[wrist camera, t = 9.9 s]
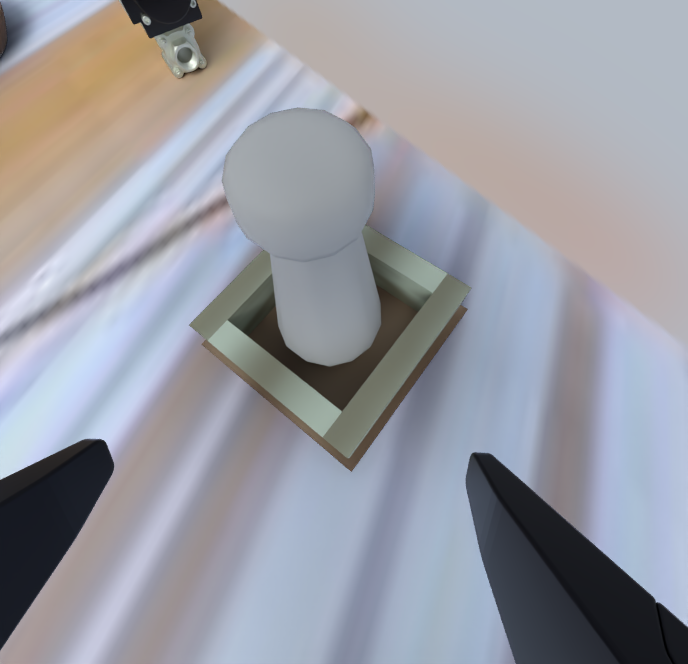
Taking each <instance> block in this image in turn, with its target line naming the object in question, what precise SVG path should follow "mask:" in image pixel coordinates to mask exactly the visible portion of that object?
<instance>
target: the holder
mask: <svg viewBox="0 0 688 664" xmlns="http://www.w3.org/2000/svg"><path fill="white" fill-rule="evenodd" d="M362 235H363V238H364V242H365V246H366V250H367V254H368V257H369V261H370V265H371V269H372V273H373V276H374V280H375V284H376V288H377V291H378V295H379V299H380V303H381V326H380V328H379V330H378V332H377V335H376V337H375V339H374V341H373V343H372V345H371V347H370V348H369V349H367V350H366V351H365V352H364V353H362V354H361V355H360V356H358V357H357V358H356V359H355V360H353V361H351V362H347V363H343V364H339V365H335V366H331V367H329V366H324V365H320V364H316V363H311V362H307V361H305V360H304V359H303V358H301V357H300V356H299V355H297V354H296V353H295V352H293V351H292V350H291V349H289V348H288V347H287V346H286V344H285V341H284V339H283V337H282V334H281V332H280V329H279V327H278V319H277V311H276V302H275V294H274V285H273V277H272V268H271V259H270V253H268V252H267V251H265V250H263V251H262V252H261V253H260V254H259V255H258V256H257V257H256V258H255V259H254V260H253V261H252V262H251V263H250V264H249V265H248V266H247V267H246V268H245V269H244V270H243V271H242V272H241V273H240V274H239V275H238V276H237V277H236V278H235V279H234V280H233V281H232V282H231V283H230V284H229V285H228V286H227V287H226V288H225V289H224V290H223V291H222V292H221V293H220V294H219V295H218V296H217V297H216V298H215V299H214V300H213V301H212V302H211V303H210V304H209V305H208V306H207V307H206V308H205V309H204V310H203V311H202V312H201V313H200V314H199V315H198V316H197V317H196V318H195V319H194V320H193V321H192V322H191V323H190V325H189V326H191V327H192V328H193V329H194V330H195V331H196V332H198V333H199V334H200V335H201V336H202V337H204V338H205V339H206V340H205V341H204V342H203V343H202V345H203V346H204V347H205V348H206V349H208V350H209V351H210V352H211V353H212V354H213V355H215V356H216V357H217V358H218V359H219V360H221V361H222V362H223V363H224V364H225V365H226V366H228V367H229V368H230V369H231V370H232V371H233V372H235V373H236V374H237V375H238V376H239V377H241V378H242V379H243V380H244V381H245V382H246V383H248V384H249V385H250V386H251V387H252V388H253V389H255V390H256V391H257V392H258V393H259V394H260V395H262V396H263V397H264V398H265V399H266V400H268V401H269V402H270V403H271V404H272V405H273V406H275V407H276V408H277V409H278V410H279V411H280V412H282V413H283V414H284V415H285V416H286V417H288V418H289V419H290V420H291V421H292V422H293V423H295V424H296V425H297V426H298V427H299V428H300V429H302V430H303V431H304V432H305V433H306V434H307V435H309V436H310V437H311V438H312V439H313V440H315V441H316V442H317V443H318V444H319V445H320V446H322V447H323V448H324V449H325V450H326V451H327V452H329V453H330V454H331V455H332V456H333V457H335V458H336V459H337V460H338V461H339V462H340V463H342V464H343V465H344V466H345V467H346V468H347V469H349V470H350V471H351V472H352V471H353V469H354V468H355V466H356V465H357V464H358V462H359V461H360V459H361V458H362V457H363V455H364V454H365V452H366V451H367V450H368V448H369V447H370V445H371V444H372V443H373V441H374V440H375V438H376V437H377V436H378V434H379V433H380V431H381V430H382V429H383V427H384V426H385V424H386V423H387V422H388V420H389V419H390V417H391V416H392V415H393V413H394V412H395V410H396V409H397V408H398V406H399V405H400V403H401V402H402V401H403V399H404V398H405V396H406V395H407V394H408V392H409V391H410V389H411V388H412V387H413V385H414V384H415V382H416V381H417V380H418V378H419V377H420V375H421V374H422V373H423V371H424V370H425V368H426V367H427V366H428V364H429V363H430V361H431V360H432V359H433V357H434V356H435V354H436V353H437V352H438V350H439V349H440V347H441V346H442V345H443V343H444V342H445V340H446V339H447V338H448V336H449V335H450V333H451V332H452V331H453V329H454V328H455V326H456V325H457V324H458V322H459V321H460V319H461V318H462V317H463V315H464V314H465V312H466V311H467V310H468V309H466V308H465V307H463V306H462V305H461V303H462V302H463V300H464V299H465V297H466V296H467V294H468V293H469V291H470V290H471V287H469V286H468V285H466V284H464V283H463V282H461V281H459V280H458V279H456V278H454V277H453V276H451V275H449V274H448V273H446V272H444V271H443V270H441V269H439V268H437V267H436V266H434V265H432V264H431V263H429V262H427V261H426V260H424V259H422V258H421V257H419V256H417V255H416V254H414V253H412V252H411V251H409V250H407V249H406V248H404V247H402V246H400V245H399V244H397V243H395V242H394V241H392V240H390V239H389V238H387V237H385V236H384V235H382V234H380V233H379V232H377V231H375V230H374V229H372V228H370V227H369V226H367V225H365V226H364V228H363V230H362Z"/></svg>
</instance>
